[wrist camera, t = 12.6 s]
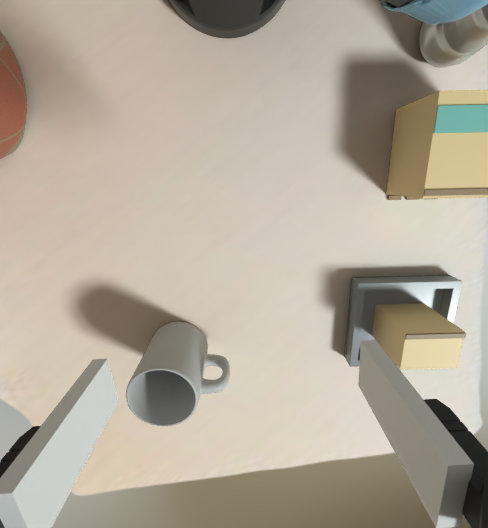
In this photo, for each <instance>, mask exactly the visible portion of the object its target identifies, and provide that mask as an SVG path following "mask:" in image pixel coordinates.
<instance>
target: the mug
mask: <svg viewBox="0 0 488 528" xmlns="http://www.w3.org/2000/svg"><path fill="white" fill-rule="evenodd" d="M207 353H208V344H207V340H206V337H205V336H204V334H203V333H202V331H201V330H200V329H198V328H197V327H196V326H194V325H192V324H190V323H186V322H180V321H179V322H171V323H168V324H165V325H163V326H162V327H161V328H159V329H158V330H157V331H156V333H155V334H154V336H153V338H152V339H151V342H150V344H149V346H148V348H147V350H146V351H145V353H144V355H143V357H142V359H141V361H140V363H139V365H138V366H137V368H136V370H135V372H134V374H133V376H132V378H131V380H130V382H129V384H128V387H127V390H126V399H127V403H128V406H129V408H130V409H131V411H132V412H133V413H134V414H135V415H136V416H137V417H138V418H139V419H141V420H142V421H144V422H146V423H148V424H151V425H155V426H173V425H177V424H179V423H182V422H184V421H185V420H187V419H188V418H189V417H190V416H191V415H192V414H193V412H194V411H195V409H196V407H197V404H198V400H199V397H200V395H201V394H206V393H216V392H220V391H222V390H223V389H224V388H225V387H226V385H227V383H228V380H229V376H230V367H229V363H228V361H227V359H226V358H225V357H223V356H220V355H211V354H207ZM208 366H218V367H220V368H222V370H223V374H222V376H221V377H220V378H219V379H216V380H207V379H204V378H203V374H204V370H205V368H206V367H208Z"/></svg>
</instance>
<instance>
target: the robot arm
mask: <svg viewBox="0 0 488 528" xmlns="http://www.w3.org/2000/svg"><path fill="white" fill-rule="evenodd" d="M168 1H169V2H170V4H171V5H172V7H173V8H174V10H175V11H176V12H177V13H178V14H179V16H180V17H181V18H182V19H183V20H184V21H186V22H187V23H188V24H189V25H191V26H192V27H193V28H195V29H197V30H198V31H200V32H202V33H205V34H207V35H210V36H214V37H219V38H236V37H241V36H245V35H248V34H250V33H252V32H254V31H256V30H258V29H260V28H261V27H263V26H264V25H265V24H266V23H268V22H269V21H270V20H271V19H272V18H273V17H274V16H275V14H276V13H277V12H278V11H279V9H280V8H281V7H282V5H283V3H284V2H285V0H168ZM380 1H381V4H382V6H383V7H385V8H386V9H388V10H390V11H396V12H403V13H405V14H407V15H409V16H412V17H414V18H416V19H418V20H420V21H422V22H425V23H428V24H439V23H447V22H453V21H456V20H459V19H461V18H463V17H465V16H467V15H469V14H471V13H473V12H475V11H477V10H478V9H480V8H482V7H483V6H485V5H486V4H488V0H380ZM359 387H360V389H361V391H362V393H363V394H364V396H365V398H366V400H367V402H368V404H369V405H370V407H371V409H372V411H373V413H374V415H375V416H376V418H377V420H378V422H379V424H380V426H381V427H382V429H383V431H384V433H385V435H386V437H387V438H388V440H389V442H390V444H391V446H392V448H393V450H394V451H395V453H396V455H397V457H398V459H399V461H400V462H401V464H402V466H403V468H404V470H405V472H406V473H407V475H408V477H409V479H410V481H411V482H412V484H413V486H414V488H415V490H416V492H417V494H418V495H419V497H420V499H421V501H422V503H423V505H424V506H425V508H426V510H427V512H428V514H429V516H430V517H431V519H432V521H433V523H434V525H435V527H436V528H447V527H460V524H461V520H462V516H463V515H464V516H465V518H466V519H467V521H468V523H469V524H470V526H471V527H472V528H488V452H487V450H486V449H485V448H484V447H483V446H482V445H481V444H480V443H479V441H478V440H477V439H476V438H475V437H474V436H473V434H472V433H471V432H469V431H468V429H467V427H466V426H465V425H464V424H463V423H462V422H460V419H459V418H458V417H457V416H456V415H455V414H454V413H453V411H452V410H451V409H450V408H449V407H447V406H446V405H444V404H443V403H441V402H440V401H438V400H437V399H427V400H423V399H422V398H421V396H420V395H419V394H418V392H417V391H416V390H415V389H414V387H413V386H412V385H411V384H410V382H409V381H408V380H407V379H406V377H405V376H404V375H403V374H402V372H401V371H400V370H399V368H398V367H397V366H396V365H395V363H394V362H393V361H392V360H391V358H390V357H389V356H388V355H387V353H386V352H385V351H384V350H383V348H382V347H381V346H380V344H379V343H378V342H377V341H376V340H367V341H361V348H360V366H359ZM117 403H118V397H117V394H116V390H115V386H114V382H113V378H112V374H111V370H110V366H109V362H108V359H96V360H92V362H91V363H90V364H89V365H88V367H87V368H86V369H85V370H84V372H83V373H82V374H81V376H80V377H79V378H78V379H77V381H76V382H75V383H74V385H73V386H72V387H71V388H70V390H69V391H68V392H67V393H66V395H65V396H64V397H63V399H62V400H61V401H60V402H59V404H58V405H57V406H56V408H55V409H54V410H53V411H52V413H51V414H50V415H49V416H48V418H47V419H46V420H45V422H44V423H43V424H42V425H41V426H34V427H32V428H31V429H30V430H29V431H27V432H26V433H25V434H24V435H22V436H21V437H20V438H19V439H18V440H17V442H16V443H15V444H14V445H13V446H12V448H11V449H10V450H9V452H8V453H6V455H5V456H4V457H3V458H2V460H1V462H0V528H51V527H52V526H53V524H54V522H55V520H56V518H57V516H58V514H59V512H60V511H61V509H62V507H63V505H64V503H65V501H66V499H67V497H68V495H69V494H70V492H71V490H72V488H73V486H74V484H75V482H76V480H77V479H78V477H79V475H80V473H81V471H82V469H83V467H84V465H85V463H86V462H87V460H88V458H89V456H90V454H91V452H92V450H93V448H94V447H95V445H96V443H97V441H98V439H99V437H100V435H101V433H102V431H103V430H104V428H105V426H106V424H107V422H108V420H109V418H110V416H111V415H112V413H113V411H114V409H115V407H116V405H117Z"/></svg>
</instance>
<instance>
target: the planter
mask: <svg viewBox="0 0 488 528" xmlns="http://www.w3.org/2000/svg"><path fill="white" fill-rule="evenodd" d="M26 113H27V99H26V90H25V85H24V81H23V77H22V73H21V70H20V67H19V65H18V62H17V60H16V57H15V55H14V53H13V51H12V49H11V47H10V45H9V43H8V42H7V40H6V39H5V37H4V36H3V35H2V34H1V32H0V159H1V158H3V157H5V156H7V155H9V154H11V153H12V152H14V151H15V150H16V149H17V148H18V146H19V144H20V142H21V140H22V137H23V134H24V129H25V123H26Z"/></svg>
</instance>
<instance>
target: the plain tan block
mask: <svg viewBox="0 0 488 528" xmlns="http://www.w3.org/2000/svg"><path fill="white" fill-rule="evenodd" d="M372 336H373V337H374V339H375V340H376V341H377V342H378V343H379V344H380V346H381V347H382V348H383V350H384V351H385V352H386V353H387V354H388V356H389V357H390V358H391V359H392V360H393V362H394V363H395V364H396V365H397V366H398V368H399V369H400V370H407V369H445V368H457V366H458V361H459V357H460V353H461V348H462V344H463V339H464V338H465V337H466V333H465V332H464V331H463V330H462V329H460V328H459V327H457V326H456V325H454V324H453V323H452V322H450V321H449V320H447V319H446V318H444V317H443V316H442V315H440V314H439V313H437V312H436V311H434V310H433V309H431V308H430V307H429V306H427V305H426V304H424V303H418V304H377V305H375V313H374V322H373V330H372Z"/></svg>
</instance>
